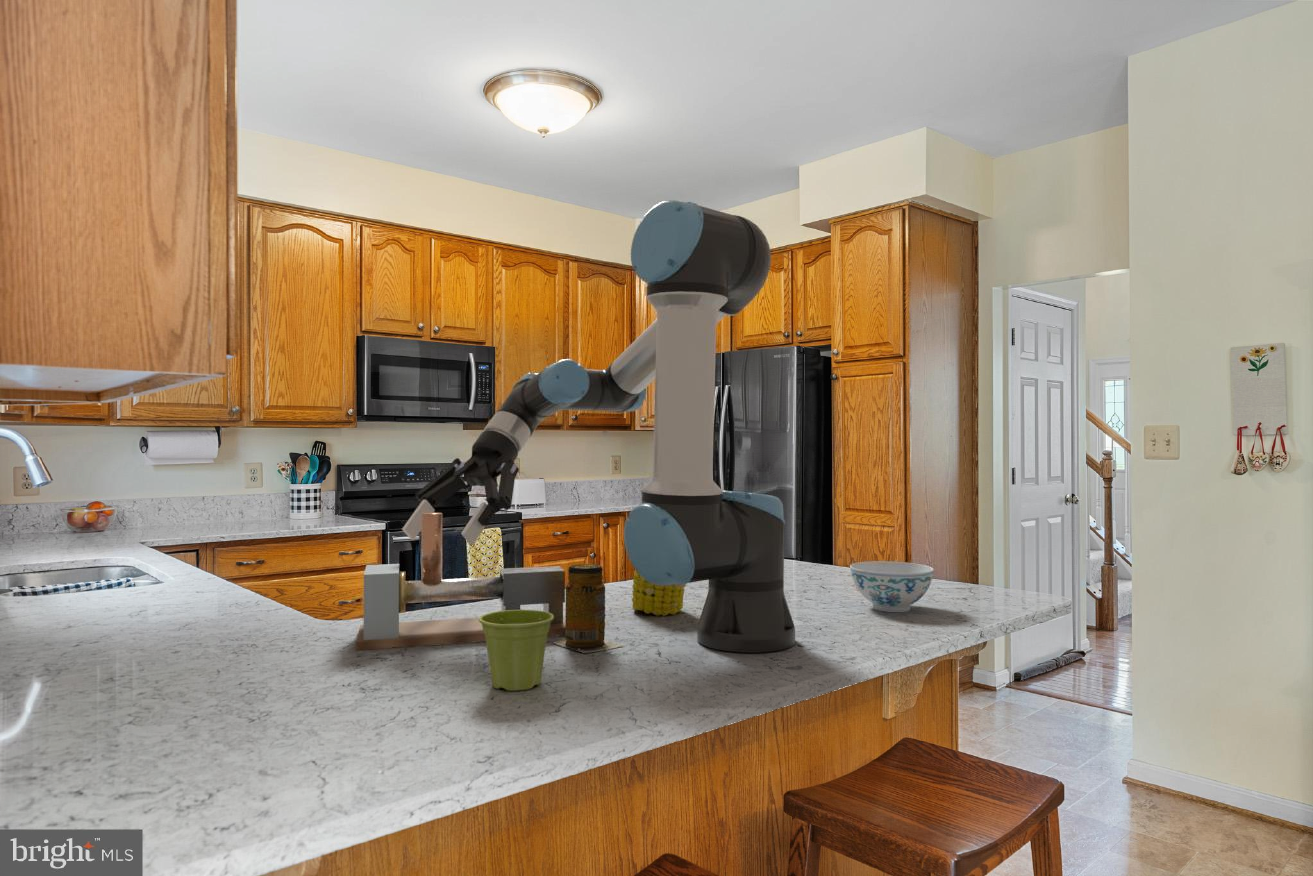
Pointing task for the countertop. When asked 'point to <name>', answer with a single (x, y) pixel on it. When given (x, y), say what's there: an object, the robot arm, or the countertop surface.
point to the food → (656, 597)
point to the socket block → (381, 601)
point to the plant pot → (516, 646)
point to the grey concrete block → (534, 589)
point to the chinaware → (891, 583)
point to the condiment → (585, 610)
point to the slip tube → (431, 573)
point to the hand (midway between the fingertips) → (436, 537)
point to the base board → (437, 633)
